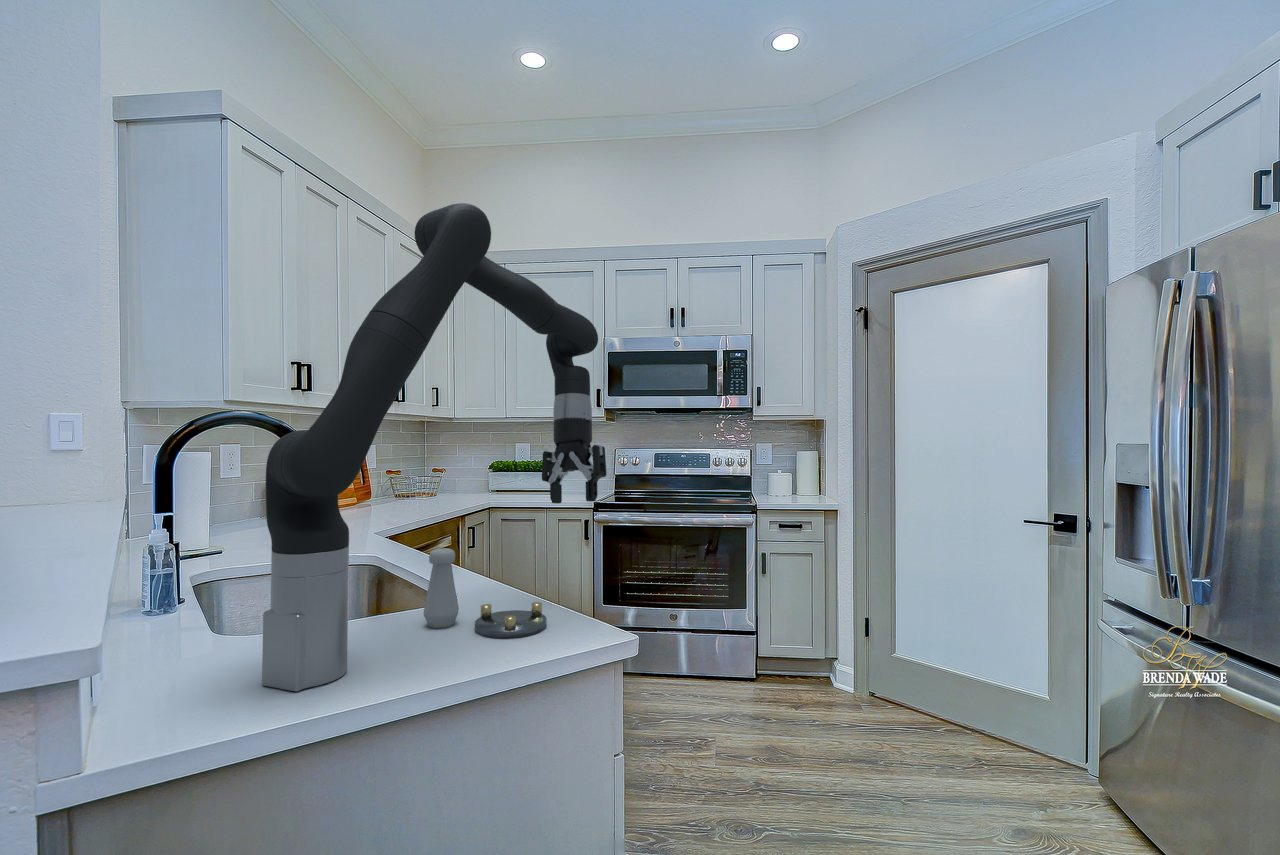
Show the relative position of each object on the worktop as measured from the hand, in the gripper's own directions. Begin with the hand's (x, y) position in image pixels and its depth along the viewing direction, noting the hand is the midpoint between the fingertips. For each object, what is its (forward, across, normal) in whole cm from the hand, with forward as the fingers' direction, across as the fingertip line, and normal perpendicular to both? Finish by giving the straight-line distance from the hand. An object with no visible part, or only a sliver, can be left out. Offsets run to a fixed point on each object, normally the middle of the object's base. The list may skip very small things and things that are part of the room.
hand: (573, 502), depth 116 cm
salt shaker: (+21, -14, -19) cm, 32 cm away
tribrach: (+21, -3, -13) cm, 25 cm away
